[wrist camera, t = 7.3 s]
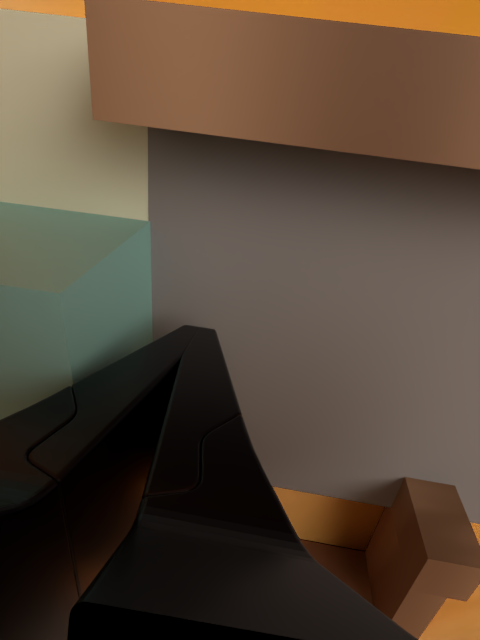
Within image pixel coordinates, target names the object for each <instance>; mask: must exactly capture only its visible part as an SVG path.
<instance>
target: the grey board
mask: <svg viewBox="0 0 480 640" xmlns="http://www.w3.org/2000/svg"><path fill="white" fill-rule="evenodd" d="M0 202H7V203H15V204H22V205H30V206H38V207H45V208H53V209H60V210H68V211H76V212H83V213H91V214H98V215H106V216H114V217H121V218H129V219H136V220H144V221H150V231H151V282H152V333H153V341H155V340H157V339H159V338H160V337H162V336H164V335H166V334H168V333H170V332H172V331H174V330H175V329H177V328H179V327H181V326H183V325H192V326H198V327H204V328H211V329H215V330H216V332H217V335H218V339H219V342H220V345H221V348H222V352H223V355H224V358H225V361H226V364H227V368H228V371H229V374H230V377H231V380H232V384H233V387H234V390H235V393H236V397H237V400H238V403H239V406H240V409H241V413H242V416H243V418H244V422H245V425H246V428H247V431H248V434H249V436H250V439H251V442H252V445H253V447H254V450H255V452H256V454H257V456H258V458H259V461H260V463H261V465H262V467H263V469H264V471H265V473H266V475H267V477H268V479H269V481H270V483H271V485H272V486H274V487H279V488H285V489H290V490H296V491H301V492H307V493H312V494H318V495H323V496H329V497H334V498H340V499H345V500H351V501H356V502H362V503H367V504H373V505H378V506H384V507H389V508H391V506H392V504H393V502H394V499H395V497H396V495H397V493H398V491H399V489H400V487H401V484H402V482H403V480H404V478H405V477H409V478H415V479H420V480H426V481H432V482H437V483H443V484H449V485H454V486H455V487H456V489H457V492H458V494H459V497H460V499H461V501H462V504H463V506H464V509H465V511H466V514H467V516H468V519H469V521H470V522H472V523H477V524H480V170H479V169H472V168H464V167H456V166H448V165H441V164H433V163H425V162H417V161H410V160H402V159H394V158H386V157H378V156H371V155H363V154H355V153H347V152H340V151H332V150H324V149H316V148H309V147H301V146H293V145H285V144H278V143H270V142H262V141H254V140H247V139H239V138H231V137H223V136H215V135H208V134H200V133H192V132H184V131H177V130H169V129H161V128H153V127H146V126H138V125H130V124H122V123H115V122H107V121H99V120H93V116H92V102H91V87H90V73H89V59H88V44H87V30H86V18H79V17H70V16H61V15H53V14H44V13H35V12H26V11H17V10H8V9H0Z"/></svg>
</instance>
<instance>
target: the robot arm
mask: <svg viewBox="0 0 480 640" xmlns="http://www.w3.org/2000/svg"><path fill="white" fill-rule="evenodd" d="M0 640H418V639H417V638H415V637H414V636H413V635H411V634H410V633H408V632H407V631H406V630H404V629H403V628H402V627H400V626H399V625H398V624H397V623H395V622H394V621H393V620H391V619H390V618H389V617H388V616H386V615H385V614H384V613H382V612H381V611H380V610H379V609H377V608H376V607H375V606H373V605H372V604H371V603H370V602H368V601H367V600H366V599H364V598H363V597H362V596H361V595H359V594H358V593H357V592H355V591H354V590H353V589H352V588H350V587H349V586H348V585H346V584H345V583H344V582H343V581H341V580H340V579H339V578H337V577H336V576H335V575H334V574H332V573H331V572H330V571H328V570H327V569H326V568H325V567H323V566H322V565H321V564H319V563H318V562H317V561H316V560H315V559H314V558H313V557H312V555H311V554H310V553H309V552H308V551H307V549H306V548H305V547H304V545H303V544H302V542H301V541H300V539H299V537H298V536H297V534H296V532H295V530H294V528H293V526H292V524H291V522H290V521H289V519H288V517H287V515H286V513H285V511H284V509H283V507H282V505H281V503H280V501H279V499H278V497H277V495H276V493H275V491H274V489H273V487H272V485H271V483H270V481H269V479H268V477H267V475H266V473H265V471H264V469H263V467H262V465H261V463H260V461H259V458H258V456H257V454H256V452H255V450H254V447H253V445H252V442H251V439H250V436H249V434H248V431H247V428H246V425H245V422H244V418H243V416H242V413H241V409H240V406H239V403H238V400H237V397H236V393H235V390H234V387H233V384H232V380H231V377H230V374H229V371H228V368H227V364H226V361H225V358H224V355H223V352H222V348H221V345H220V342H219V339H218V335H217V332H216V330H215V329H211V328H204V327H198V326H192V325H183V326H181V327H179V328H177V329H175V330H174V331H172V332H170V333H168V334H166V335H164V336H162V337H160V338H159V339H157V340H155V341H153V342H151V343H149V344H147V345H145V346H143V347H142V348H140V349H138V350H136V351H134V352H132V353H130V354H128V355H127V356H125V357H123V358H121V359H119V360H117V361H115V362H113V363H111V364H110V365H108V366H106V367H104V368H102V369H100V370H98V371H96V372H95V373H93V374H91V375H89V376H87V377H85V378H83V379H81V380H80V381H78V382H76V383H74V384H73V385H72V387H71V386H68V387H66V388H64V389H62V390H60V391H59V392H57V393H55V394H53V395H51V396H49V397H47V398H45V399H43V400H41V401H39V402H37V403H35V404H33V405H31V406H29V407H27V408H25V409H23V410H20V411H18V412H16V413H14V414H12V415H9V416H7V417H5V418H3V419H1V420H0Z"/></svg>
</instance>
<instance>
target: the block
mask: <svg viewBox="0 0 480 640" xmlns="http://www.w3.org/2000/svg"><path fill="white" fill-rule="evenodd" d="M151 342H153V333H152V282H151V231H150V221H144V220H136V219H129V218H121V217H114V216H106V215H98V214H91V213H83V212H76V211H68V210H60V209H53V208H45V207H38V206H30V205H22V204H15V203H7V202H0V420H1V419H3V418H5V417H7V416H9V415H12V414H14V413H16V412H18V411H20V410H23V409H25V408H27V407H29V406H31V405H33V404H35V403H37V402H39V401H41V400H43V399H45V398H47V397H49V396H51V395H53V394H55V393H57V392H59V391H60V390H62V389H64V388H66V387H68V386H71V387H72V385H73V384H74V383H76V382H78V381H80V380H81V379H83V378H85V377H87V376H89V375H91V374H93V373H95V372H96V371H98V370H100V369H102V368H104V367H106V366H108V365H110V364H111V363H113V362H115V361H117V360H119V359H121V358H123V357H125V356H127V355H128V354H130V353H132V352H134V351H136V350H138V349H140V348H142V347H143V346H145V345H147V344H149V343H151Z"/></svg>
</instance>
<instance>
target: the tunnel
mask: <svg viewBox="0 0 480 640" xmlns="http://www.w3.org/2000/svg"><path fill="white" fill-rule="evenodd" d="M84 1H85V16H86V30H87V44H88V59H89V73H90V87H91V102H92V116H93V120H99V121H107V122H115V123H122V124H130V125H138V126H146V127H153V128H161V129H169V130H177V131H184V132H192V133H200V134H208V135H215V136H223V137H231V138H239V139H247V140H254V141H262V142H270V143H278V144H285V145H293V146H301V147H309V148H316V149H324V150H332V151H340V152H347V153H355V154H363V155H371V156H378V157H386V158H394V159H402V160H410V161H417V162H425V163H433V164H441V165H448V166H456V167H464V168H472V169H479V170H480V37H477V36H468V35H459V34H450V33H441V32H431V31H422V30H413V29H404V28H395V27H386V26H376V25H367V24H358V23H349V22H340V21H331V20H321V19H312V18H303V17H294V16H285V15H276V14H266V13H257V12H248V11H239V10H230V9H221V8H211V7H202V6H193V5H184V4H175V3H166V2H156V1H147V0H84ZM300 541H301V542H302V544H303V545H304V547H305V548H306V549H307V551H308V552H309V553H310V554H311V555H312V557H313V558H314V559H315V560H316V561H317V562H318V563H319V564H321V565H322V566H323V567H325V568H326V569H327V570H328V571H330V572H331V573H332V574H334V575H335V576H336V577H337V578H339V579H340V580H341V581H343V582H344V583H345V584H346V585H348V586H349V587H350V588H352V589H353V590H354V591H355V592H357V593H358V594H359V595H361V596H362V597H363V598H364V599H366V600H367V601H368V602H370V603H371V604H372V605H373V606H375V607H376V608H377V609H379V610H380V611H381V612H382V613H384V614H385V615H386V616H388V617H389V618H390V619H391V620H393V621H394V622H395V623H397V624H398V625H399V626H400V627H402V628H403V629H404V630H406V631H407V632H408V633H410V634H411V635H413V636H414V637H415V638H417V639H419V637H420V636H421V634H422V633H423V632H424V630H425V629H426V627H427V626H428V624H429V623H430V622H431V620H432V619H433V617H434V616H435V614H436V613H437V612H438V610H439V609H440V607H441V606H442V604H443V603H444V602H445V600H446V599H447V598H451V599H456V600H461V601H467V600H468V598H469V597H470V596H471V594H472V593H473V592H474V590H475V589H476V588H477V586H478V585H479V584H480V546H479V543H478V541H477V538H476V536H475V533H474V531H473V529H472V526H471V524H470V521H469V519H468V516H467V514H466V511H465V509H464V506H463V504H462V501H461V499H460V497H459V494H458V492H457V489H456V487H455V486H454V485H449V484H443V483H437V482H432V481H426V480H420V479H415V478H409V477H405V478H404V480H403V482H402V484H401V487H400V489H399V491H398V493H397V495H396V497H395V499H394V502H393V504H392V506H391V508H389V507H385V509H384V511H383V514H382V516H381V518H380V520H379V522H378V525H377V527H376V529H375V531H374V533H373V536H372V538H371V540H370V542H369V545H368V547H367V549H366V551H365V552H363V551H358V550H352V549H347V548H342V547H336V546H331V545H326V544H321V543H315V542H310V541H305V540H300Z"/></svg>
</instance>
